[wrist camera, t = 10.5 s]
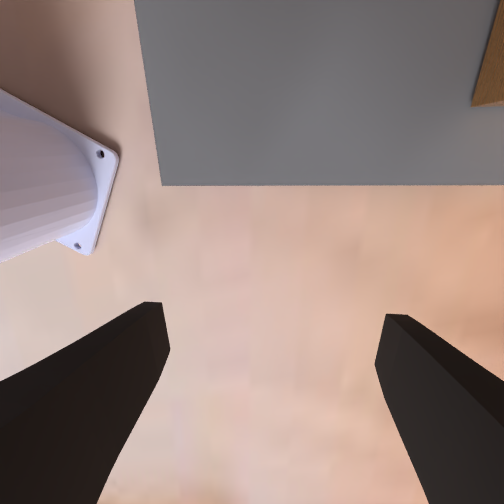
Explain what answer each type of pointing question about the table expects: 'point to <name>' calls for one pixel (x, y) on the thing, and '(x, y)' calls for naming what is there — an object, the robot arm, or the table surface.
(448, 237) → the table surface
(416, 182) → the mat
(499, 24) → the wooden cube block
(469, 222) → the table surface
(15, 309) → the table surface
